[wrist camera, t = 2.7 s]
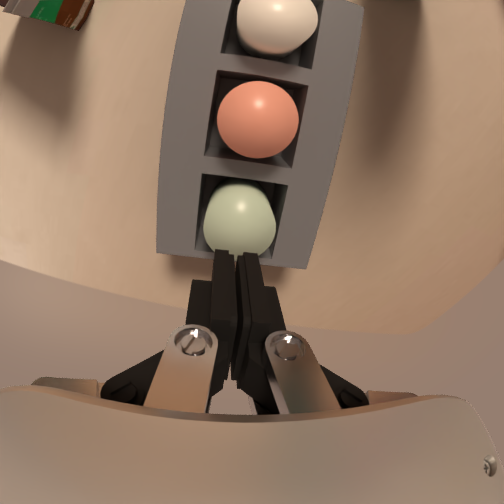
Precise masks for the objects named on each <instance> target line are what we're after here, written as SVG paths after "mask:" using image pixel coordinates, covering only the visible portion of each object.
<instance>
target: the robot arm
mask: <svg viewBox="0 0 504 504" xmlns="http://www.w3.org/2000/svg"><path fill="white" fill-rule="evenodd" d="M230 362H231V380H237V389H241V390H243V391H244V392H245V393H246V394H248V395H249V397H248V398H249V405H250V408H251V412H252V415H226V414H209V410H210V405H211V399H212V396H213V395H215V394H216V393H218V392H219V391H220V390H221V389H223V383H224V380H227V378H228V372H229V367H230ZM0 504H504V469H503V466H502V463H501V461H500V458H499V455H498V453H497V450H496V448H495V446H494V444H493V442H492V439H491V437H490V435H489V433H488V431H487V429H486V427H485V425H484V423H483V422H482V420H481V418H480V417H479V415H478V413H477V412H476V411H475V409H474V408H473V406H472V405H471V404H470V403H468V402H467V401H466V400H464V399H461V398H458V397H454V396H448V395H425V396H417V395H415V394H413V393H406V392H384V391H370V390H369V391H367V392H366V393H364V392H363V391H362V390H361V389H359V388H358V387H356V386H354V385H353V384H351V383H349V382H348V381H346V380H344V379H343V378H341V377H340V376H338V375H336V374H335V373H333V372H331V371H330V370H328V369H326V368H325V367H323V366H322V365H320V364H319V363H318V361H317V359H316V357H315V355H314V353H313V351H312V349H311V347H310V345H309V344H308V342H307V341H306V339H304V338H303V337H302V336H301V335H299V334H296V333H295V332H291V331H286V327H285V323H284V319H283V315H282V311H281V307H280V303H279V299H278V295H277V291H276V288H275V287H270V286H264V282H263V277H262V272H261V267H260V262H259V258H258V253H249V252H243V255H238V256H237V262H236V268H235V265H234V254H229V250H221V249H215V254H214V263H213V272H212V281H204V280H194V279H193V280H192V285H191V291H190V297H189V304H188V310H187V317H186V324H185V325H183V326H181V327H178V328H177V329H175V330H174V331H173V332H172V334H171V335H170V337H169V340H168V342H167V345H166V347H165V349H164V350H163V351H161V352H159V353H157V354H155V355H153V356H152V357H150V358H148V359H146V360H144V361H142V362H140V363H139V364H137V365H135V366H133V367H131V368H129V369H127V370H125V371H124V372H122V373H120V374H118V375H116V376H114V377H112V378H110V379H109V380H108V381H106V382H105V383H98V381H97V380H96V379H68V378H53V377H41V378H39V379H37V380H35V381H34V382H33V383H32V384H31V385H19V386H10V387H6V388H2V389H0Z"/></svg>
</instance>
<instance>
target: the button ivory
mask: <svg viewBox="0 0 504 504" xmlns="http://www.w3.org/2000/svg"><path fill="white" fill-rule="evenodd" d="M317 23H318V15H317V11H316V8H315V6H314V4H313V3H312V2H311V0H241V1H240V3H239V5H238V10H237V28H236V35H237V39H238V42H239V44H240V45H241V47H242V48H243V49H244V50H245V51H246V52H247V53H249V54H250V55H252V56H254V57H257V58H260V59H266V60H276V59H281V58H284V57H286V56H288V55H289V54H291V53H292V52H293V51H294V50H295V49H297V48H298V47H299V46H300V45H301V44H302V43H303V42H305V41H306V40H307V39H308V38H309V37H310V36H311V35H312V34H313V33H314V31H315V29H316V27H317Z"/></svg>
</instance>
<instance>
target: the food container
mask: <svg viewBox="0 0 504 504" xmlns="http://www.w3.org/2000/svg"><path fill="white" fill-rule="evenodd" d="M93 4H94V0H0V6H3V7H5V8H4V9H3V11H2V12H7V13H11V14H14V15H18V16H22V17H26V18H29V17H31V18H35V19H39V20H43V21H47V22H51V23H54V24H58V25H61V26H64V27H68V28H71V29H74V30H77V31H79V29H80V28H81V26H82V25H83V23H84V22H85V20H86V19H87V17H88V15H89V12H90V10H91V8H92V6H93Z"/></svg>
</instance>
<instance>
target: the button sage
mask: <svg viewBox="0 0 504 504" xmlns="http://www.w3.org/2000/svg"><path fill="white" fill-rule="evenodd" d="M203 231H204V236H205V239H206V242H207V243H208V245H209V246H210V248H211V249H212V250H213V251H214V252H215V249H221V250H229V254H234V260H237V256H238V255H243V252H249V253H258V256H259V255H260V254H262V253H263V252H264V251H265V250H266V249H267V248H268V247H269V246H270V245H271V243H272V241H273V239H274V236H275V232H276V222H275V218H274V215H273V212H272V210H271V207H270V204H269V201H268V198H267V196H266V193H265V191H264V190H263V188H262V187H261V186H260V185H259V184H258V183H257V182H256V181H254V180H252V179H244V178H237V177H230V178H227V179H225V180H223V181H221V182H220V183H219V184H218V185H217V186H216V187H215V188H214V189H213V191H212V193H211V195H210V198H209V202H208V207H207V211H206V215H205V219H204V224H203Z"/></svg>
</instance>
